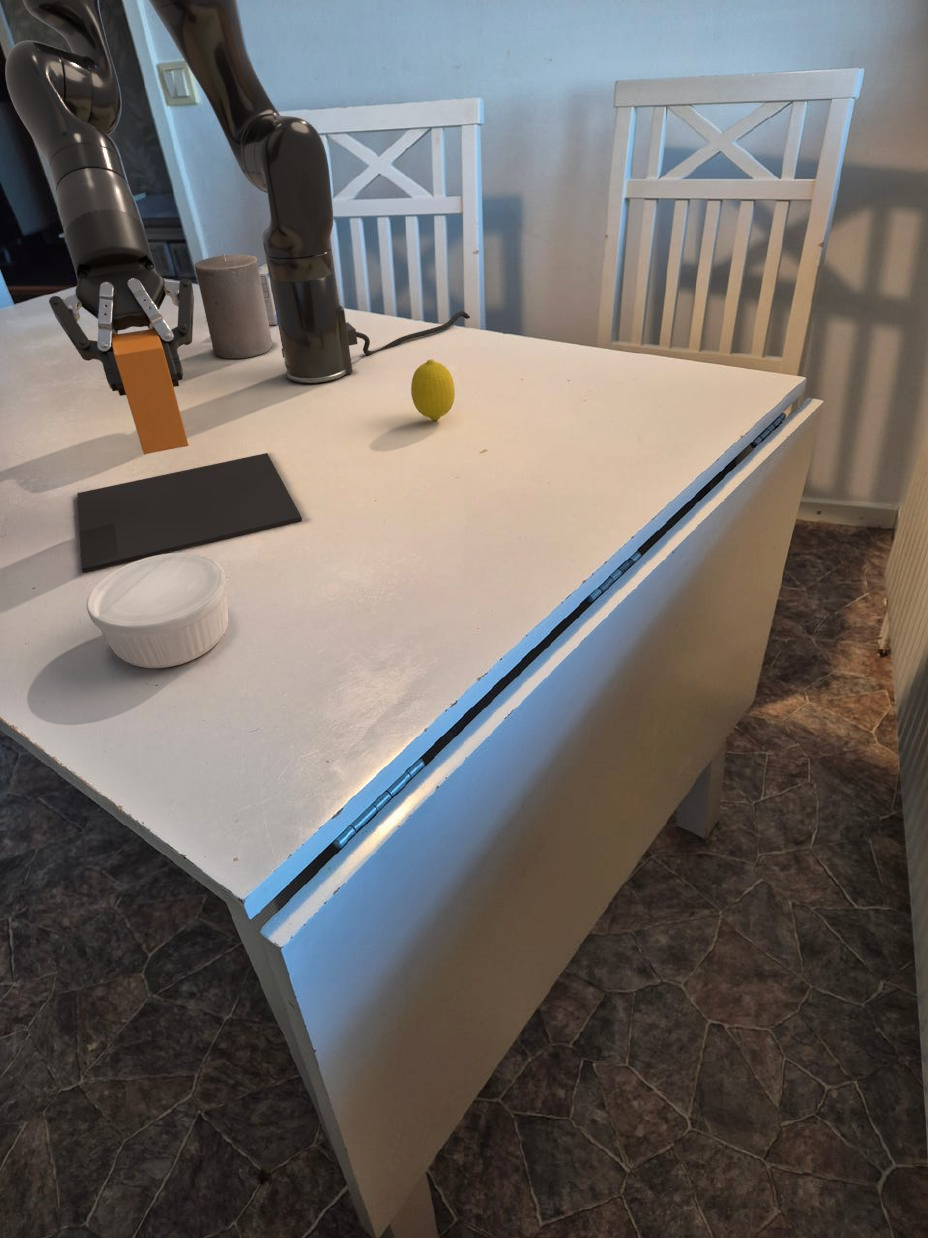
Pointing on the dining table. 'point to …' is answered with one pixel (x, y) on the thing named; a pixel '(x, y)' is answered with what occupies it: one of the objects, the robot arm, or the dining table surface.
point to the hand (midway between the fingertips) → (148, 386)
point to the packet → (149, 390)
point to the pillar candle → (234, 305)
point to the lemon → (432, 390)
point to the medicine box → (268, 294)
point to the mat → (181, 511)
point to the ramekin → (162, 609)
